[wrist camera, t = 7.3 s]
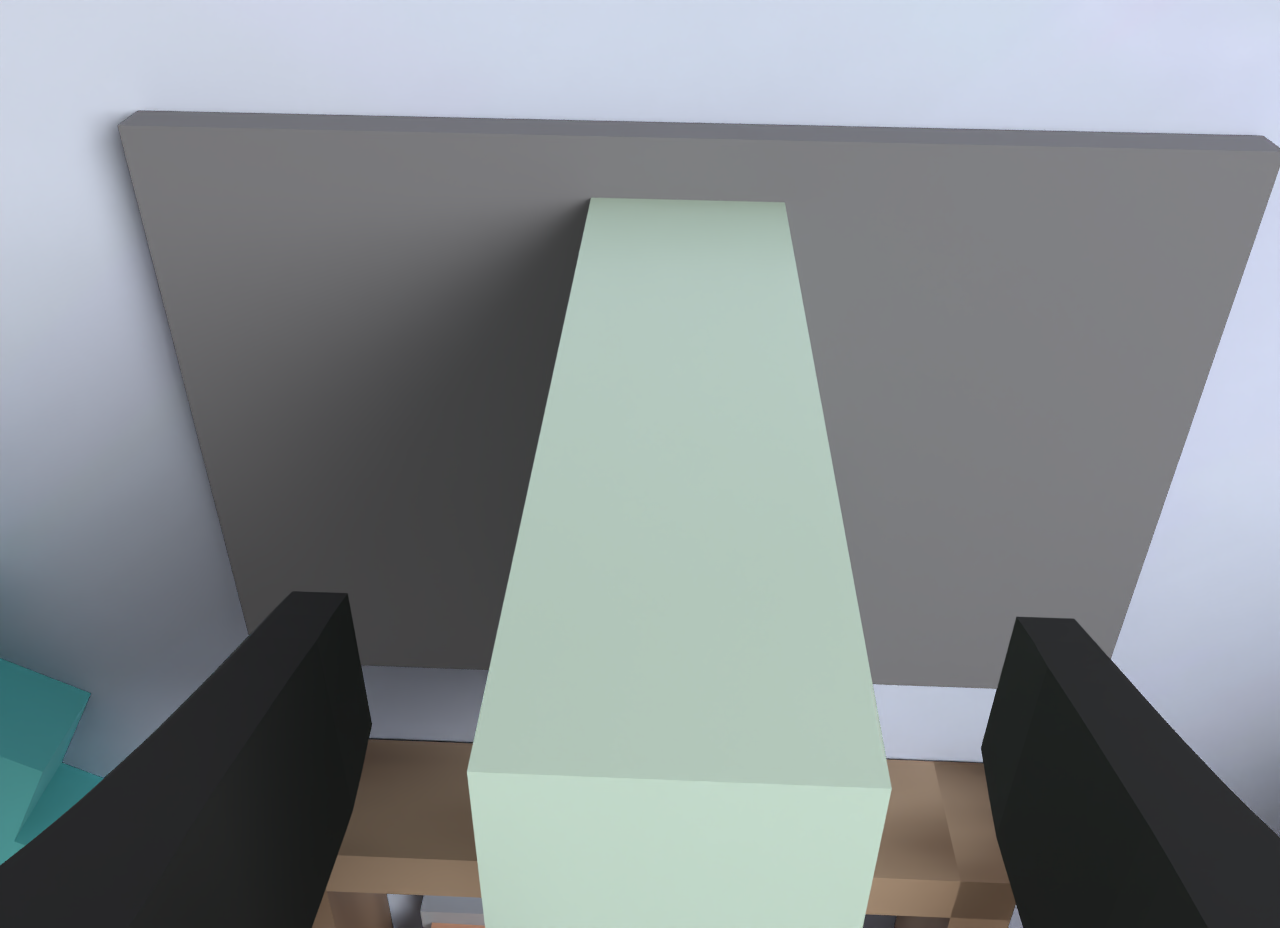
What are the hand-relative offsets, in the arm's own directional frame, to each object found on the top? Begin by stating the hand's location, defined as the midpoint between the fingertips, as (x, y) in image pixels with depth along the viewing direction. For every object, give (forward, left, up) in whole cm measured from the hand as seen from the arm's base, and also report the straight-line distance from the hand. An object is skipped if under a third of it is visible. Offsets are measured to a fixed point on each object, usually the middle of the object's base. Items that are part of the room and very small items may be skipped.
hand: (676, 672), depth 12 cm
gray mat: (0, 0, -5) cm, 5 cm away
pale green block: (0, 0, -4) cm, 4 cm away
